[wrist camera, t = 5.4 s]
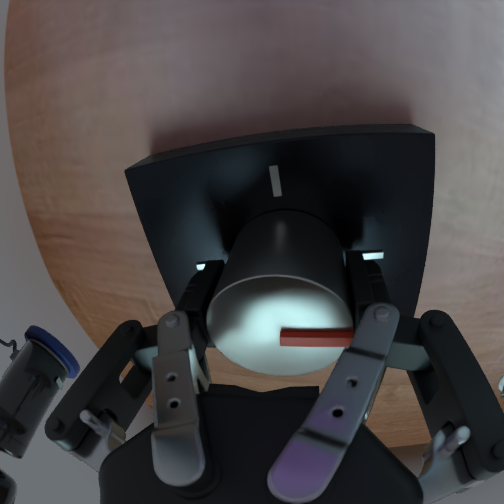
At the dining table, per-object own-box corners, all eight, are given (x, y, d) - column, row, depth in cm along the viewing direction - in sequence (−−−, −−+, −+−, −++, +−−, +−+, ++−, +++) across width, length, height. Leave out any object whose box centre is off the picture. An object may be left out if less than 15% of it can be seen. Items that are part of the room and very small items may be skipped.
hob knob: (239, 301, 17) (217, 377, 12) (225, 210, 14) (187, 279, 9) (338, 302, 15) (344, 382, 11) (346, 209, 13) (366, 281, 8)
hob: (200, 309, 22) (187, 339, 19) (149, 155, 16) (121, 171, 13) (401, 299, 18) (411, 331, 16) (412, 124, 12) (437, 134, 10)
